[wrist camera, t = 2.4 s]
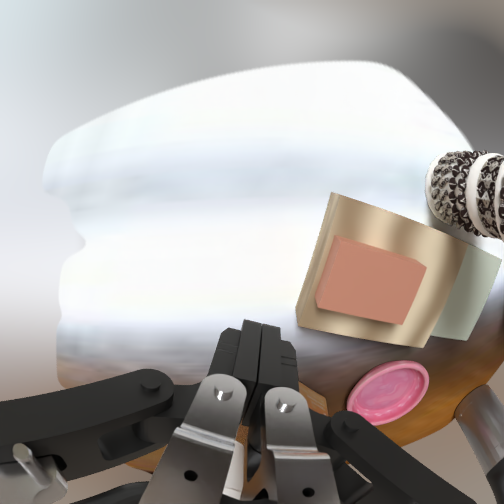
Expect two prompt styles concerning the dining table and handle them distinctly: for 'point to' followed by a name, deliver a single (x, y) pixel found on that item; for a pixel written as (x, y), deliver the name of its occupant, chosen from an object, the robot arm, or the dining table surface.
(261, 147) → the dining table surface
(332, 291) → the salmon pink brick
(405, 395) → the saucer
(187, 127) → the dining table surface
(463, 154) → the decorative candle
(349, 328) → the panel
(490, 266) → the mat
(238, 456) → the foam cup
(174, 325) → the dining table surface
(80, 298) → the dining table surface
